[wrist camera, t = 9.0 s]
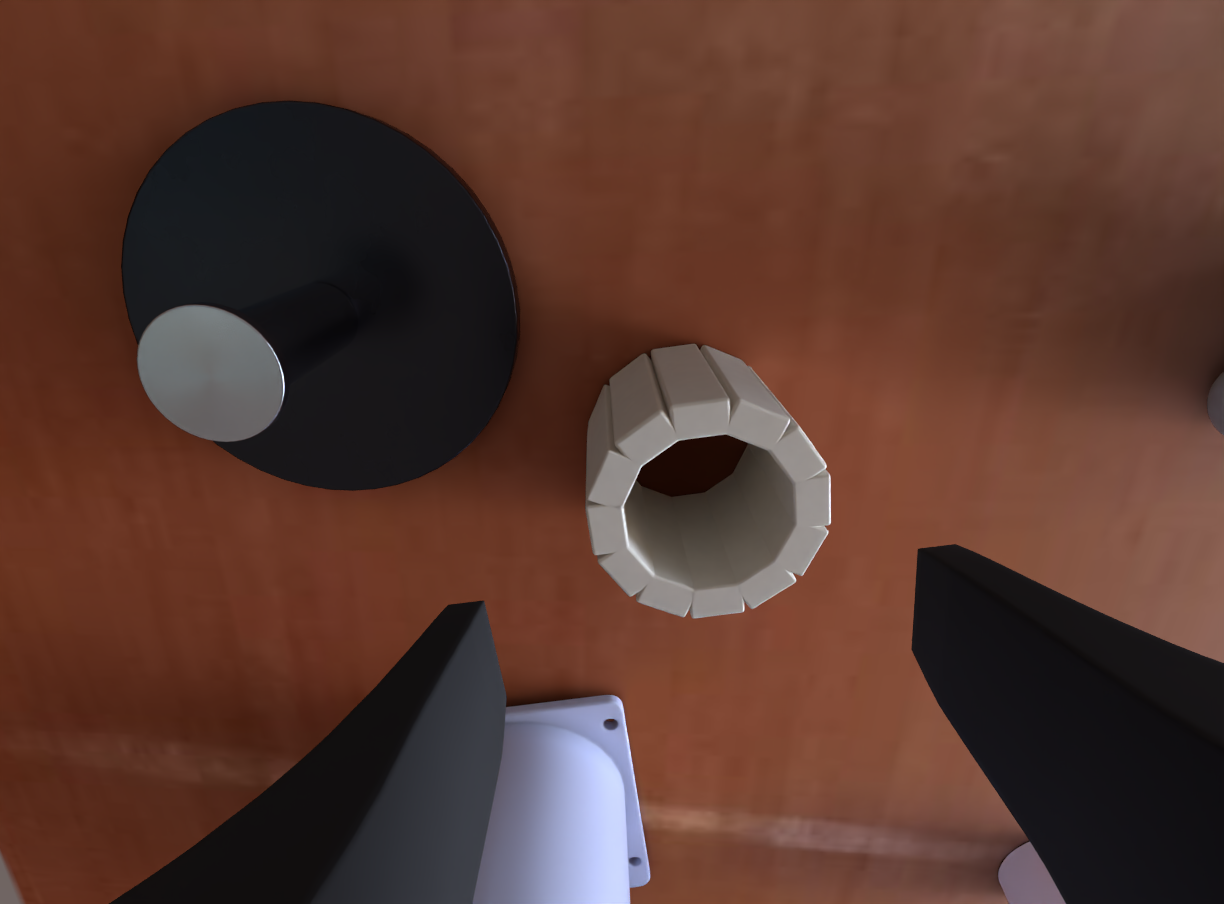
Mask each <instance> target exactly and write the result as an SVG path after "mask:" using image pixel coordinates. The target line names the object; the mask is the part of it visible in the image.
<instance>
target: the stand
mask: <svg viewBox="0 0 1224 904" xmlns="http://www.w3.org/2000/svg"><path fill="white" fill-rule="evenodd" d="M121 269H122V282H123V294H124V298H125V303H126V308H127V312H128V317H129V321H130V323H131V326H132V329H133V332H134V335H135V338H136V341H137V344H138V350H137V368H138V373H139V377H140V380H141V383H142V386H143V388H144V390H145V392H146V394H147V395H148V397H149V399H150V400H151V402H152V403H153V404H154V406H155V407H156V408H157V409H158V410H159V411H160V412H161V413H162V414H163V415H164V416H165V417H166V418H167V419H168V420H169V421H171V422H172V423H173V424H174V425H176V426H178V427H179V428H181V429H182V430H184V431H186V432H188V433H190V434H192V435H195V436H197V437H200V438H204V439H207V440H212V441H213V442H215V443H216V444H217V445H218V446H220V447H221V448H223V449H224V450H226V451H228V452H229V453H231V454H232V455H234V456H235V457H237V458H238V459H240V460H242V461H244V462H246V463H248V464H249V465H251V466H253V467H255V468H257V469H259V470H261V471H264V472H266V473H269V474H271V475H274V476H276V477H279V478H281V479H284V480H288V481H291V482H295V483H299V484H302V485H306V486H311V487H318V488H324V489H330V490H352V491H353V490H367V489H378V488H383V487H388V486H393V485H398V484H401V483H404V482H407V481H410V480H413V479H416V478H419V477H421V476H423V475H425V474H427V473H429V472H431V471H434V470H436V469H438V468H439V467H441V466H442V465H444V464H445V463H447V462H448V461H450V460H451V459H453V458H454V457H456V456H457V455H458V454H459V453H460V452H462V451H463V450H464V449H465V448H466V447H467V446H468V445H470V444H471V443H472V442H473V441H474V439H475V438H476V437H477V436H478V435H479V434H480V432H481V431H482V430H483V429H484V428H485V427H486V425H487V424H488V422H489V421H490V419H491V417H492V416H493V414H494V413H495V411H496V410H497V408H498V406H499V404H500V402H501V399H502V397H503V395H504V393H505V391H506V388H507V386H508V384H509V381H510V379H511V375H512V372H513V368H514V365H515V361H516V358H517V351H518V344H519V337H520V306H519V298H518V289H517V284H516V280H515V276H514V272H513V268H512V264H511V261H510V258H509V256H508V253H507V250H506V248H505V245H504V243H503V240H502V237H501V236H500V234H499V232H498V230H497V228H496V226H495V224H494V222H493V221H492V219H491V217H490V215H489V213H488V212H487V210H486V209H485V207H484V206H483V205H482V203H481V202H480V200H479V199H478V197H477V196H476V195H475V193H474V192H473V190H472V189H471V188H470V187H469V186H468V185H467V184H466V183H465V181H464V180H463V179H462V178H461V177H460V176H459V175H458V174H457V173H456V171H455V170H454V169H453V168H451V167H450V166H449V165H448V164H447V163H446V162H445V161H443V160H442V159H441V158H440V157H439V156H438V155H437V154H435V153H434V152H433V151H432V150H431V149H429V148H428V147H426V146H425V145H423V144H422V143H420V142H419V141H417V140H416V139H414V138H413V137H411V136H410V135H409V134H407V133H405V132H403V131H401V130H399V129H397V128H395V127H393V126H391V125H389V124H387V123H385V122H383V121H381V120H378V119H375V118H372V117H370V116H367V115H364V114H361V113H358V112H356V111H352V110H348V109H344V108H340V107H335V106H331V105H326V104H321V103H315V102H301V101H276V102H262V103H257V104H252V105H248V106H243V107H239V108H235V109H232V110H229V111H227V112H224V113H222V114H219V115H217V116H214V117H212V118H210V119H208V120H206V121H204V122H203V123H201V124H199V125H198V126H196V127H194V128H193V129H191V130H190V131H188V132H186V133H185V134H184V135H183V136H182V137H180V138H179V139H178V140H177V141H176V142H175V143H174V144H172V145H171V146H170V147H169V148H168V149H167V150H166V151H165V152H164V153H163V155H162V156H161V157H160V158H159V159H158V161H157V162H156V163H155V164H154V166H153V167H152V168H151V169H150V171H149V172H148V174H147V176H146V178H145V179H144V181H143V183H142V185H141V186H140V188H139V190H138V192H137V194H136V197H135V199H134V202H133V204H132V207H131V210H130V212H129V215H128V219H127V224H126V229H125V233H124V238H123V248H122V264H121Z"/></svg>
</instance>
